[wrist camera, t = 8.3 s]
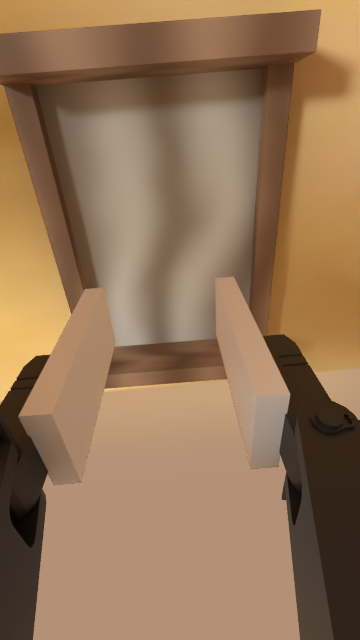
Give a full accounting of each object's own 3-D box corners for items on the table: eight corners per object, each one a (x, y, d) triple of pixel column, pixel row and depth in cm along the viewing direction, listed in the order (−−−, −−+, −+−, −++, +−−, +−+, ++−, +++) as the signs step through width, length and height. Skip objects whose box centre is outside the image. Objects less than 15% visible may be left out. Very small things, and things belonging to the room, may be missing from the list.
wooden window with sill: (90, 357, 30) (79, 390, 26) (5, 57, 18) (-37, 36, 14) (260, 344, 30) (274, 374, 26) (288, 35, 18) (321, 9, 14)
